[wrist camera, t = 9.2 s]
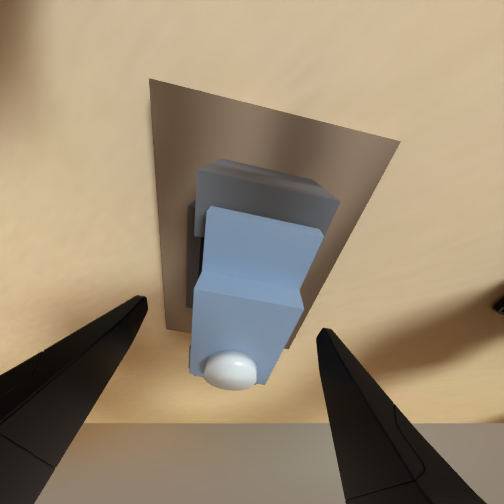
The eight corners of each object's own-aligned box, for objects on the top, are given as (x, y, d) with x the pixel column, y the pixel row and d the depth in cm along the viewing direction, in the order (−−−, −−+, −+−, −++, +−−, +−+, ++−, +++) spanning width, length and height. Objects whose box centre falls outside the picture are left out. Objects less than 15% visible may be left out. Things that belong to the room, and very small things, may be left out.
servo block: (298, 197, 10) (341, 263, 5) (257, 320, 16) (254, 416, 11) (229, 181, 10) (190, 232, 5) (212, 312, 16) (184, 406, 10)
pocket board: (388, 141, 10) (494, 142, 5) (287, 339, 19) (295, 400, 15) (159, 84, 9) (59, 28, 5) (170, 320, 18) (141, 378, 14)
